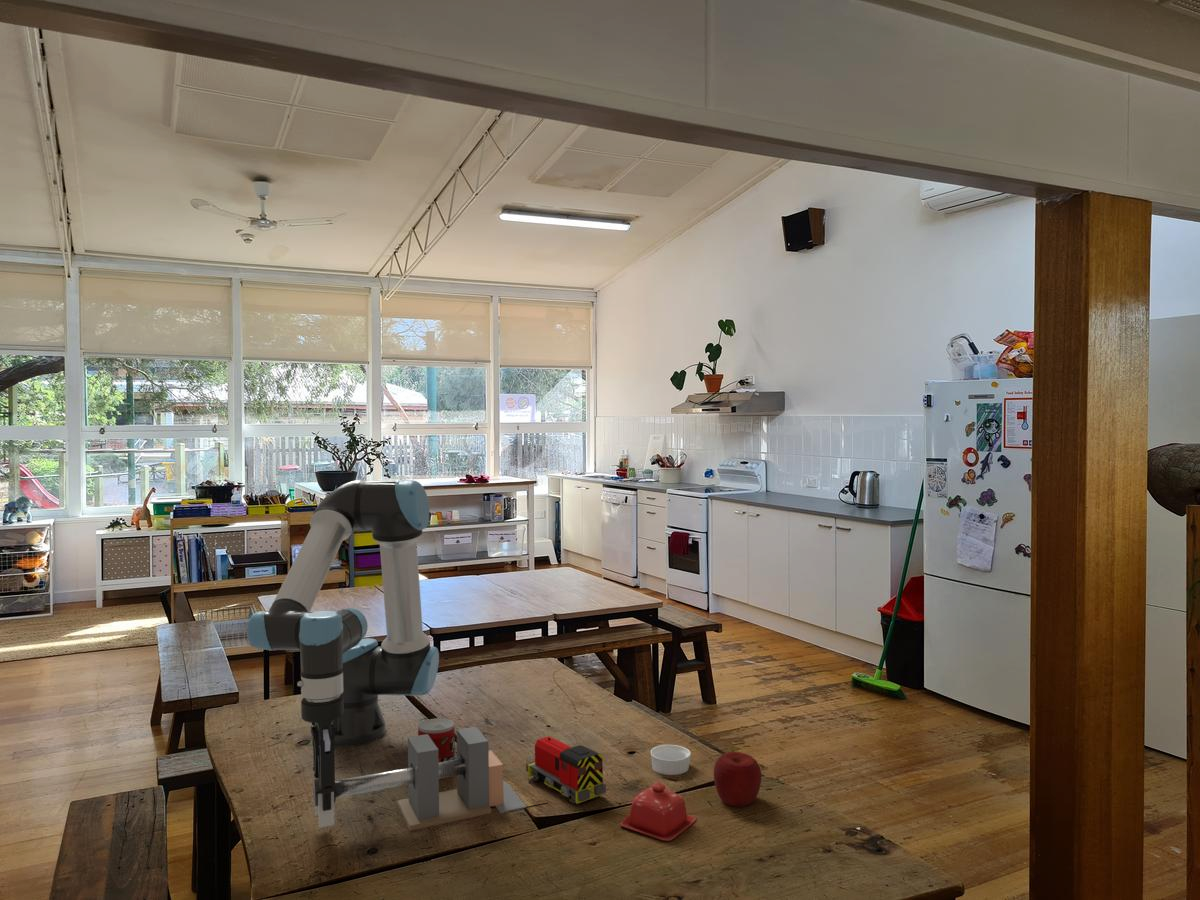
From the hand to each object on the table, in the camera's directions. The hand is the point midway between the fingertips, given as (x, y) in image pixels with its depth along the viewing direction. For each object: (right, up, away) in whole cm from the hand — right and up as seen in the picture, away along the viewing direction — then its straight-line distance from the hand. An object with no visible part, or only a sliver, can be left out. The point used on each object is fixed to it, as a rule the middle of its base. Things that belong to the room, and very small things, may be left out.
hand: (324, 818), depth 157 cm
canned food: (+16, -2, +27) cm, 31 cm away
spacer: (+29, -2, +13) cm, 32 cm away
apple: (+79, -2, +11) cm, 80 cm away
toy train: (+44, -2, +18) cm, 48 cm away
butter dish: (+63, -3, +2) cm, 63 cm away
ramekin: (+67, -2, +28) cm, 73 cm away
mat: (+34, -2, +16) cm, 37 cm away
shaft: (+13, +3, +6) cm, 14 cm away
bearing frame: (+21, -2, +10) cm, 23 cm away
